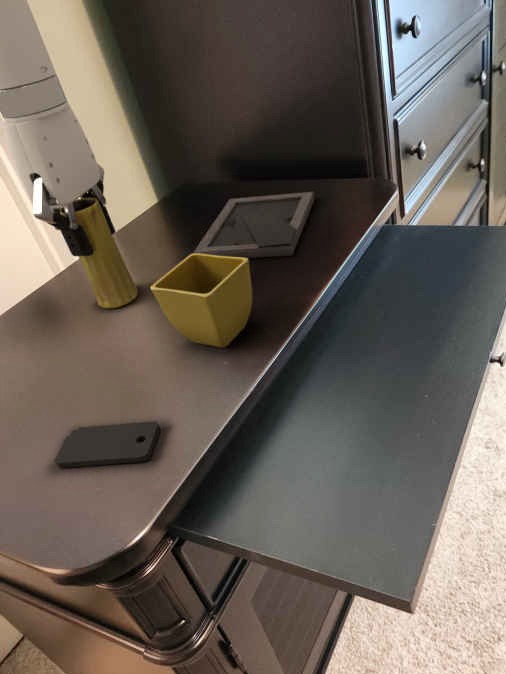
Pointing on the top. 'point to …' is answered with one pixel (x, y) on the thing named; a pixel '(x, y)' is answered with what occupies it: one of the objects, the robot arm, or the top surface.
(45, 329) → the top surface
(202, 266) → the flower pot
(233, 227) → the picture frame
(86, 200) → the vase
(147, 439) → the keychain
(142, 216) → the top surface
